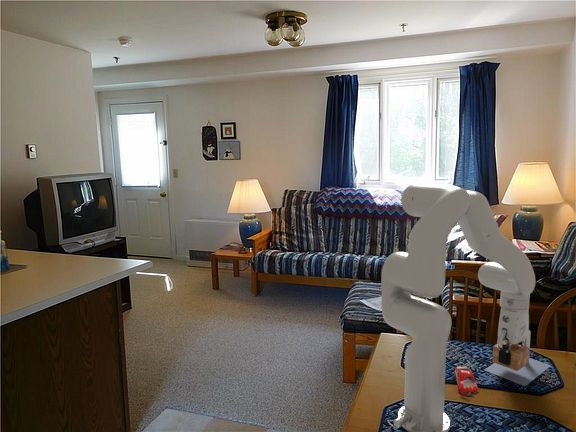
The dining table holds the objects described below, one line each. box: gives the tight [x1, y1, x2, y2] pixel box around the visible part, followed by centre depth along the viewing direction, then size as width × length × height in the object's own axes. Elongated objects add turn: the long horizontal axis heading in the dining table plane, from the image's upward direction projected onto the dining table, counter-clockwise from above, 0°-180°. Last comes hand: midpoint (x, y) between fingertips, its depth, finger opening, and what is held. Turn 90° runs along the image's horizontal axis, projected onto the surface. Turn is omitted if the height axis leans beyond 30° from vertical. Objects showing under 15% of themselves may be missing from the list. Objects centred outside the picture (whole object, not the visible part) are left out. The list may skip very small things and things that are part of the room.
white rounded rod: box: [522, 329, 532, 364], centre depth 134 cm, size 2×2×11 cm
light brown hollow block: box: [491, 339, 530, 371], centre depth 128 cm, size 7×7×5 cm
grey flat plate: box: [484, 357, 552, 387], centre depth 132 cm, size 18×12×1 cm, turn 128°
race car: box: [454, 366, 479, 398], centre depth 124 cm, size 13×5×4 cm, turn 165°
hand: (510, 359), depth 128 cm, fingers closed on light brown hollow block, 7 cm apart
